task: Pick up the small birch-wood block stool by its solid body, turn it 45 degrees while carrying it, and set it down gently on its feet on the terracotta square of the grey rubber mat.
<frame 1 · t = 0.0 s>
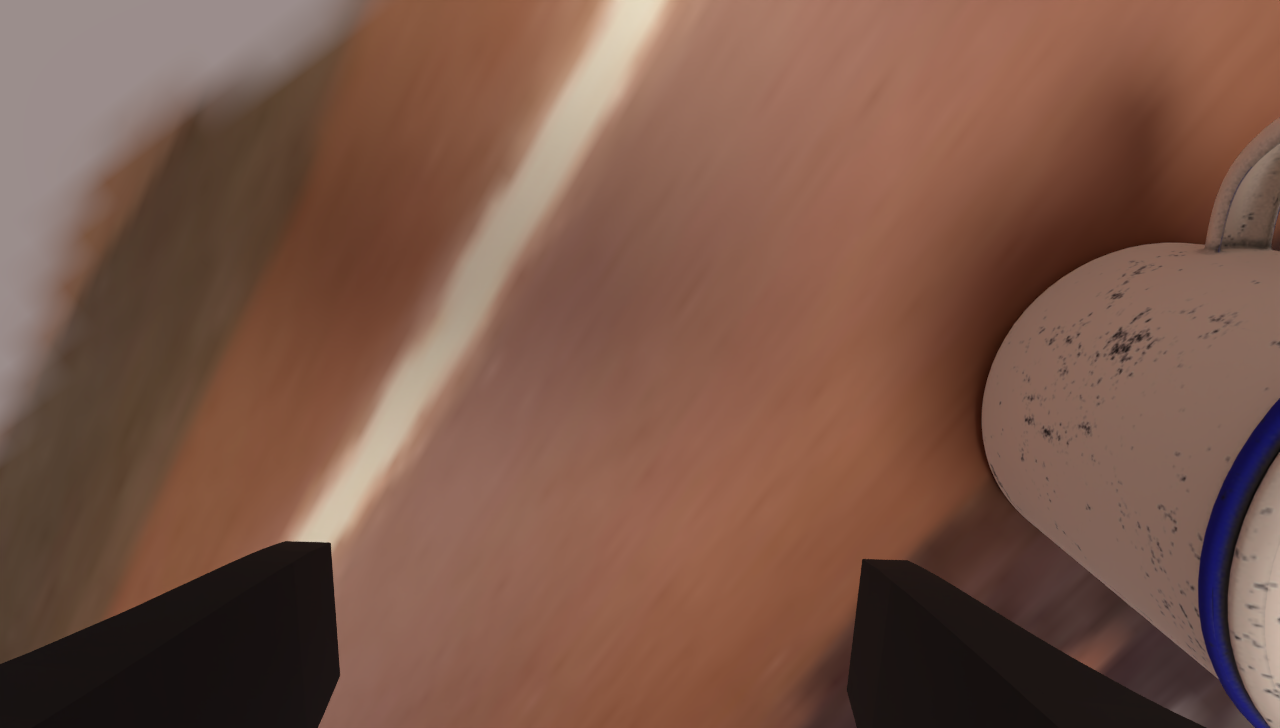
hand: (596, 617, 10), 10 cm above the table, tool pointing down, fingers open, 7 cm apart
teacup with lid: (1133, 346, 19), on the table
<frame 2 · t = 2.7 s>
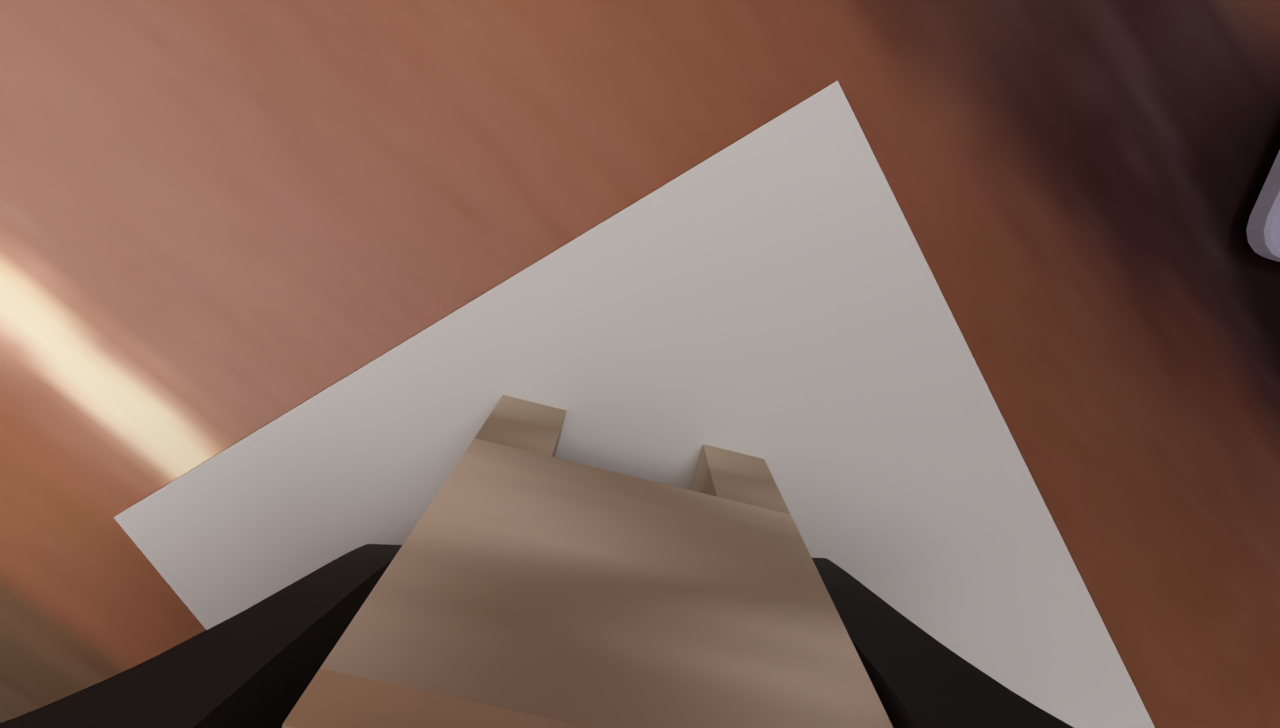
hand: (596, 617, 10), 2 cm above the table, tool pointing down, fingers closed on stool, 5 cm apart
stool: (602, 546, 12), resting on mat, touching gripper
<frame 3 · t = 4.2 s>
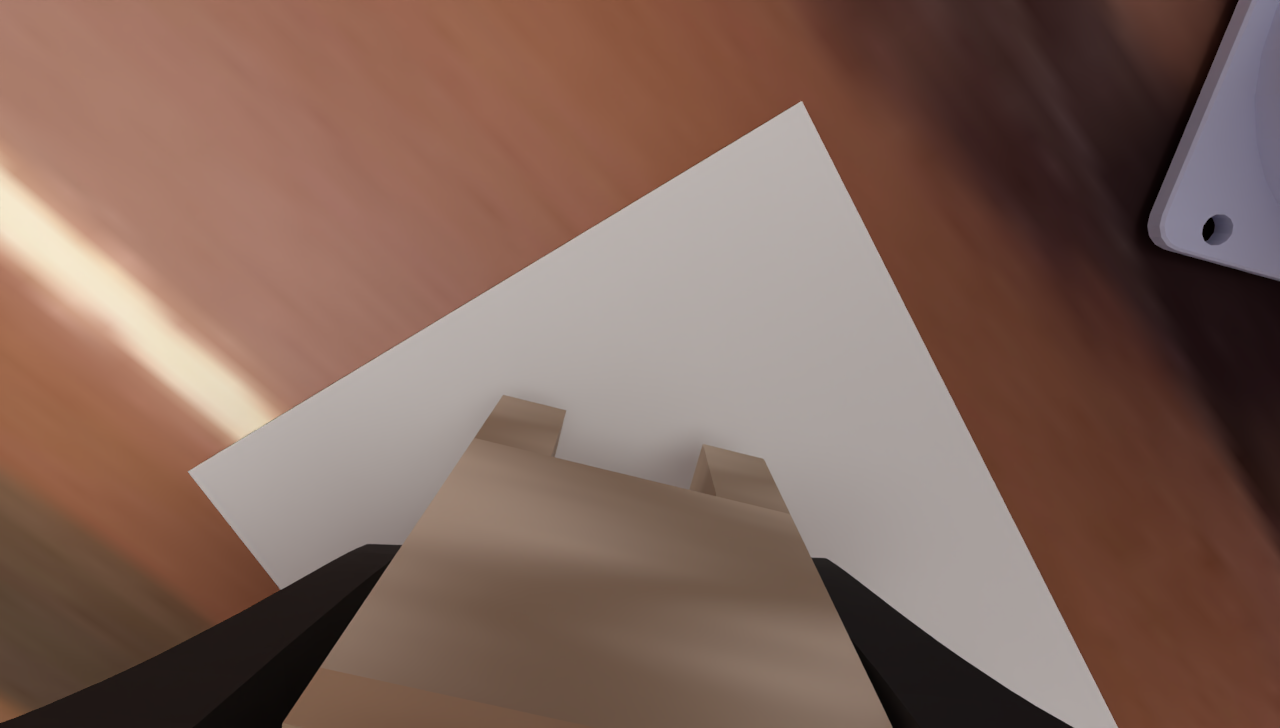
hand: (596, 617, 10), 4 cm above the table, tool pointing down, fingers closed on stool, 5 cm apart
stool: (602, 546, 12), point 2 cm above the table, touching gripper
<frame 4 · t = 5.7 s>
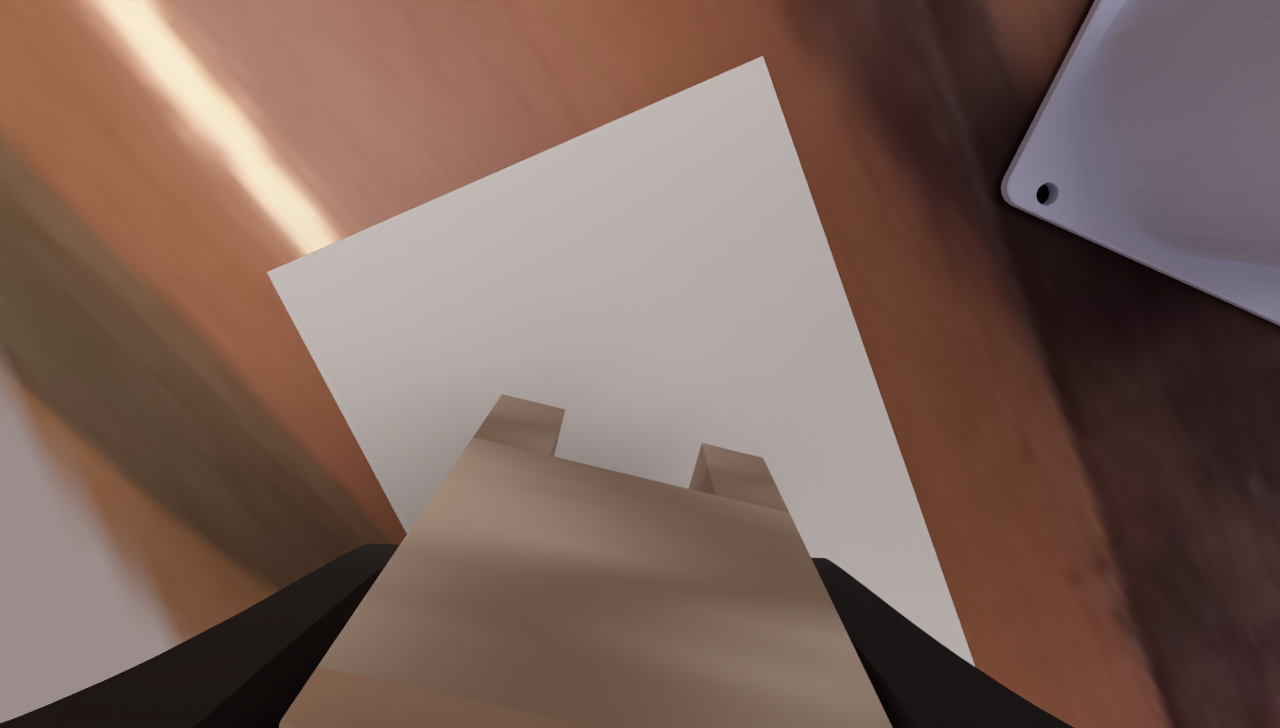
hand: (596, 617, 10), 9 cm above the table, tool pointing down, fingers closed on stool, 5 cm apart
stool: (602, 545, 12), point 7 cm above the table, touching gripper
mat: (683, 563, 20), on the table
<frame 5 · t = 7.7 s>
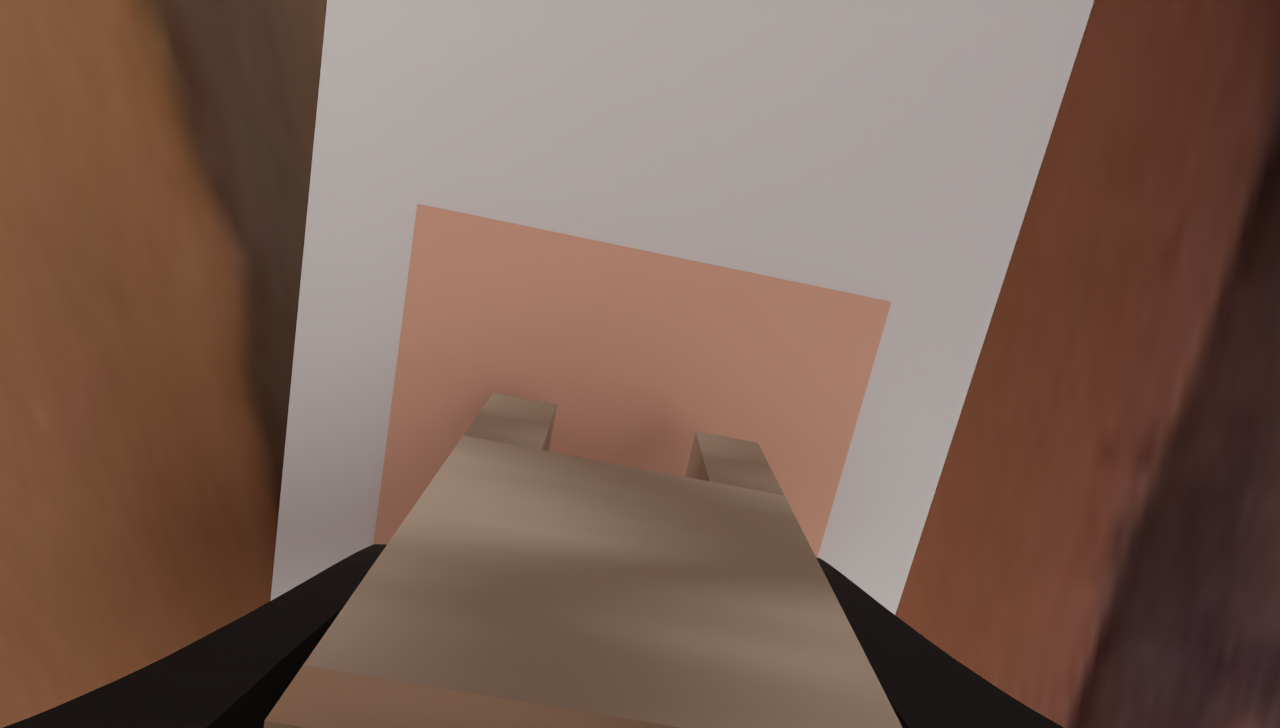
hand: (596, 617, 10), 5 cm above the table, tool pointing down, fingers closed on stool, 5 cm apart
stool: (601, 539, 12), point 3 cm above the table, touching gripper
mat: (685, 117, 13), on the table
when the fingers open (4 cm above the table, at t = 9.0 s): stool moves 1 cm, resting on mat.
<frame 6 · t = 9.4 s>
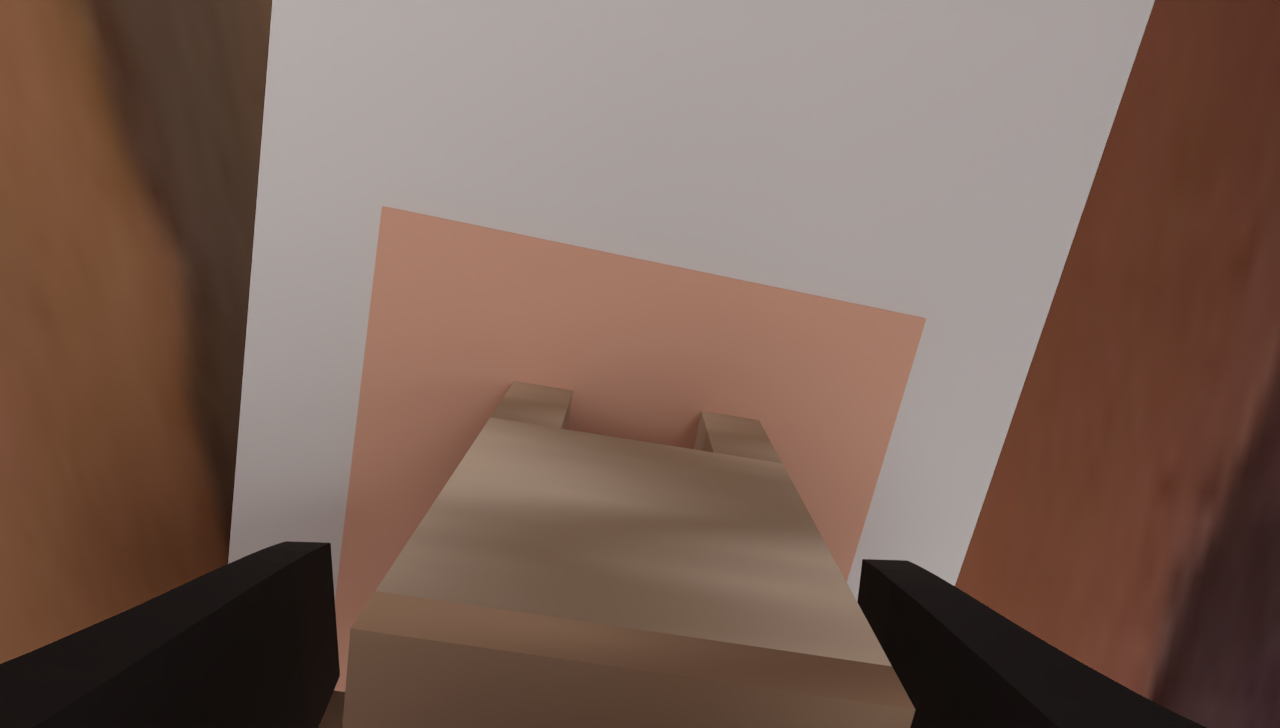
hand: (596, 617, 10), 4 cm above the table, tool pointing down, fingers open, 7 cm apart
stool: (617, 513, 12), resting on mat
mat: (690, 107, 11), on the table
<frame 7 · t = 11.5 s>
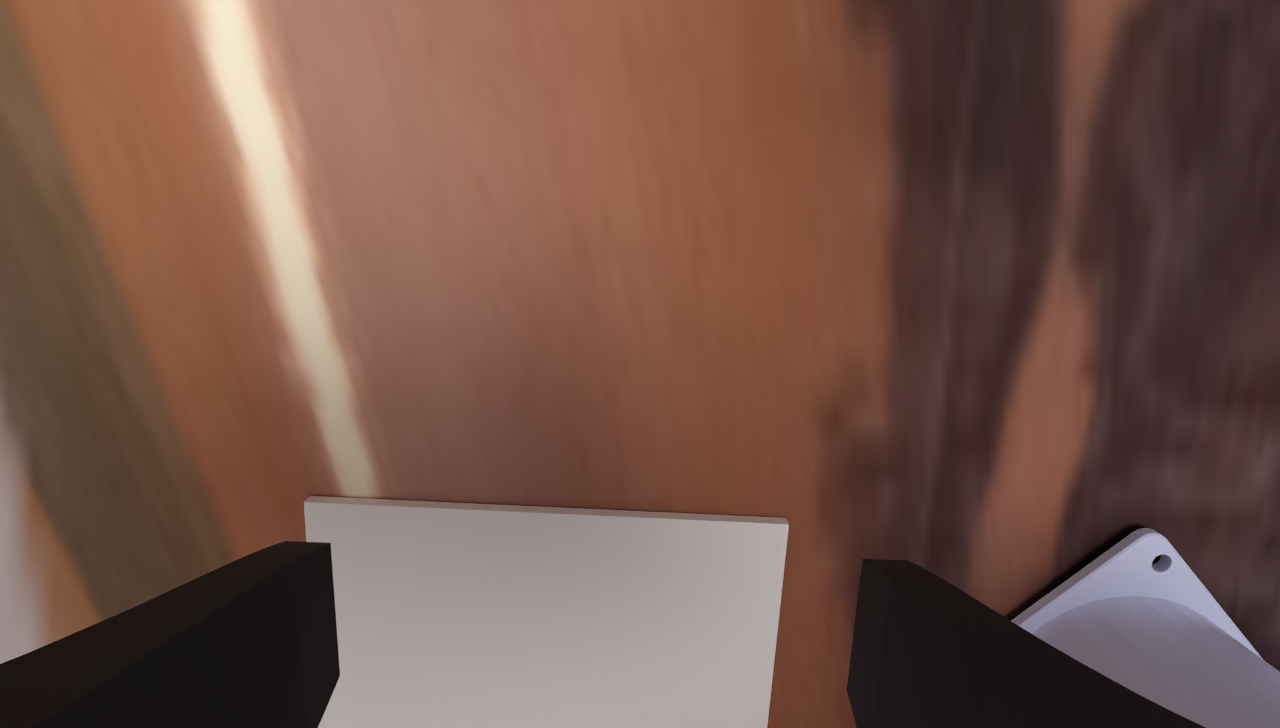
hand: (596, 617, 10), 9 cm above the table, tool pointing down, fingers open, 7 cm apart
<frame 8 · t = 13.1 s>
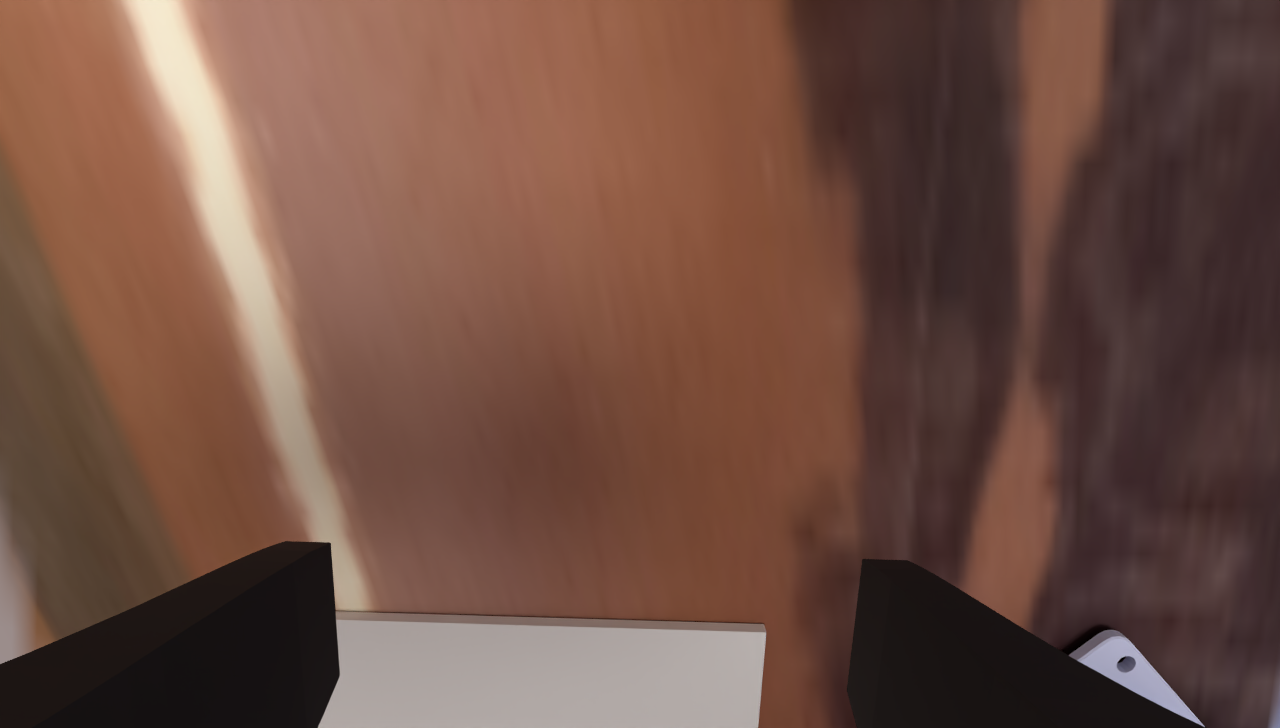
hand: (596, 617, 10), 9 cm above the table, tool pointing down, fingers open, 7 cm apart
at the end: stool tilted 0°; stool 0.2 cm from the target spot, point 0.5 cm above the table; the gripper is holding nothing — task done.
